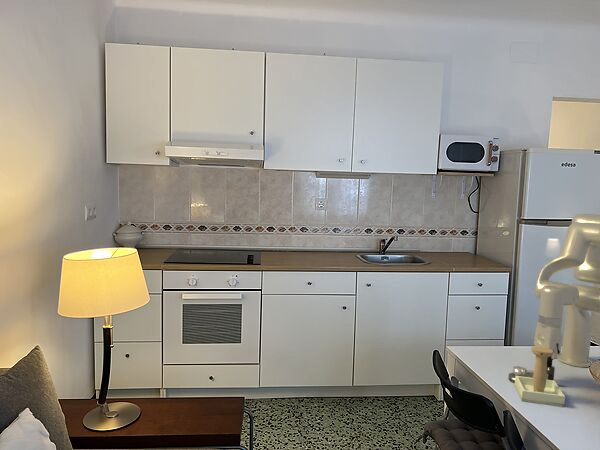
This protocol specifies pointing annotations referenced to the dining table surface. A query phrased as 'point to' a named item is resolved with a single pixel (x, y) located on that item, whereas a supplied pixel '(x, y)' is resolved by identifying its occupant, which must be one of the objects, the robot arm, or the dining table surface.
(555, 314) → the robot arm
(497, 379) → the dining table surface
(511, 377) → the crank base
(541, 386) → the handle
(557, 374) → the dining table surface
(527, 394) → the tray
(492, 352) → the dining table surface
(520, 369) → the crank
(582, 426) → the dining table surface
